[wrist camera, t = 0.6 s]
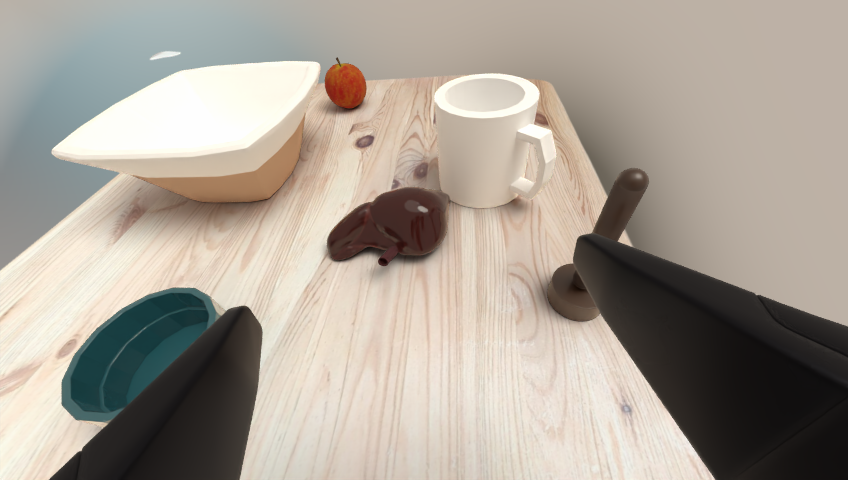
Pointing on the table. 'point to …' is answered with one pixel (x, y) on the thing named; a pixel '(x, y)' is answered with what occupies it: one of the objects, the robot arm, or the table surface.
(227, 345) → the robot arm
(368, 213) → the liver model
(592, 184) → the table surface
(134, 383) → the stir bowl
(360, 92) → the fruit
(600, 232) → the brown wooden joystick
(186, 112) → the bowl
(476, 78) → the mug
